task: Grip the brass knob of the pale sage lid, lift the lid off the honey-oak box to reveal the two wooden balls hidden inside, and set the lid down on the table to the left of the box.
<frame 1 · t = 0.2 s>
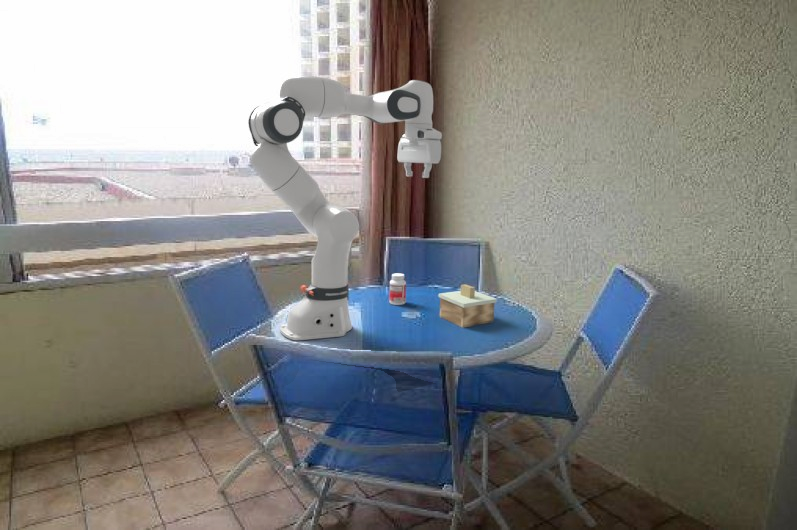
hand: (417, 177, 168), 47 cm above the table, fingers open, 8 cm apart
lid: (467, 299, 173), point 7 cm above the table, touching box
box: (466, 319, 175), on the table
pill bottle: (397, 303, 192), on the table
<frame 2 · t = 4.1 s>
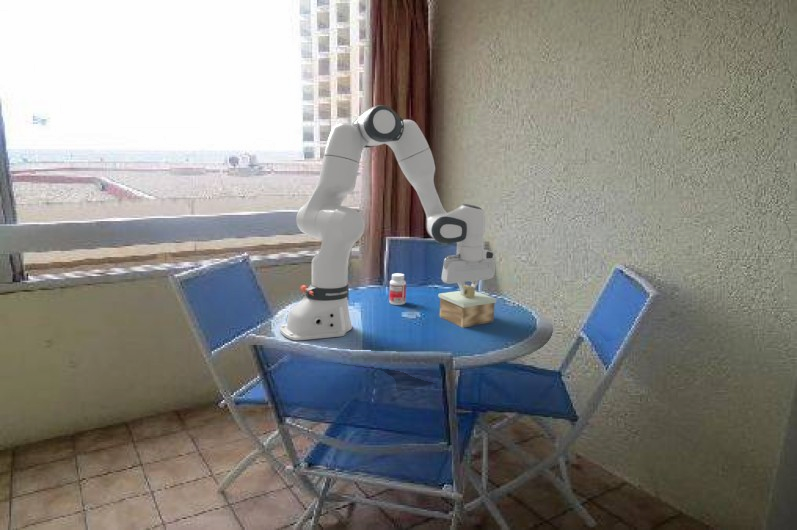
hand: (467, 293, 173), 9 cm above the table, fingers closed on lid
lid: (467, 299, 173), point 7 cm above the table, touching box, gripper
everything else where it was.
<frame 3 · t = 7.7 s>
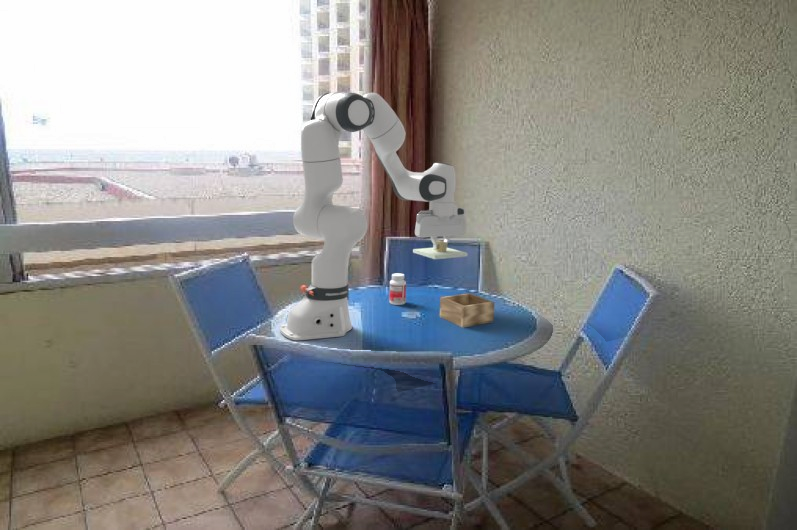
hand: (440, 248, 183), 22 cm above the table, fingers closed on lid
lid: (439, 254, 183), point 20 cm above the table, touching gripper
everything else where it was.
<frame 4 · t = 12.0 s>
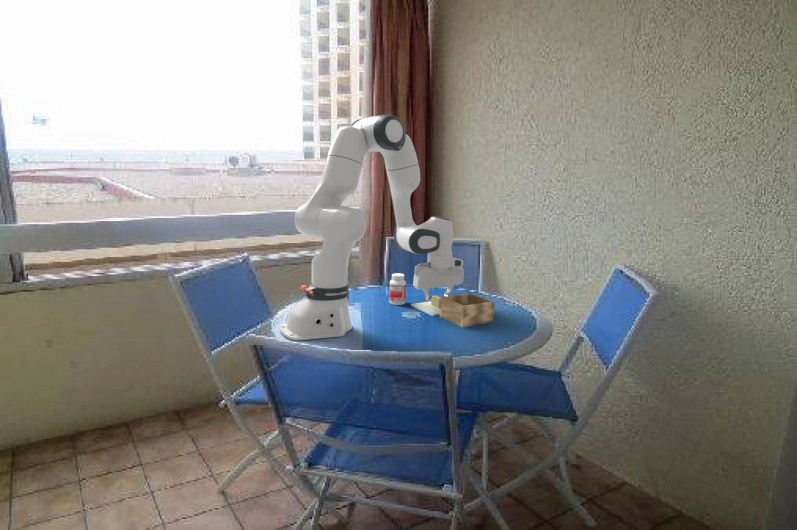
hand: (437, 298, 186), 4 cm above the table, fingers open, 7 cm apart
lid: (437, 309, 187), on the table
everything else where it was.
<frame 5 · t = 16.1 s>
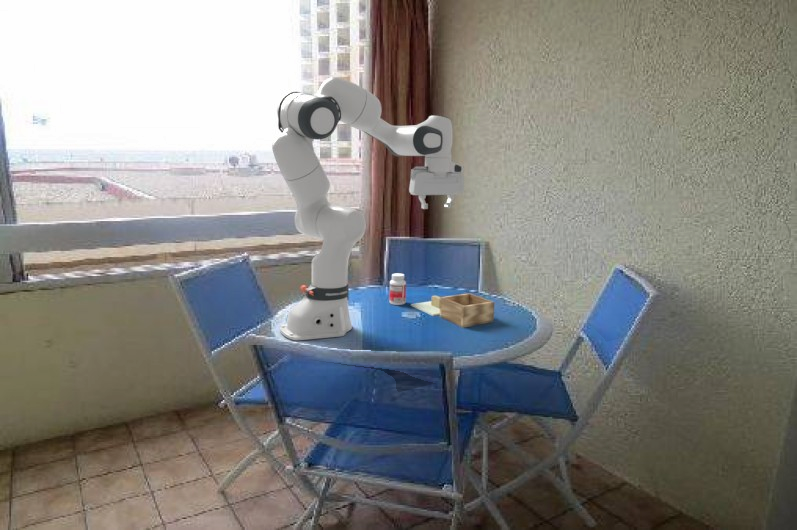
hand: (436, 208, 173), 37 cm above the table, fingers open, 8 cm apart
nothing on the table moved.
at the end: lid inside the target area (0.1 cm from its centre), on the table; lid touching table; lid tilted 0° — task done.
